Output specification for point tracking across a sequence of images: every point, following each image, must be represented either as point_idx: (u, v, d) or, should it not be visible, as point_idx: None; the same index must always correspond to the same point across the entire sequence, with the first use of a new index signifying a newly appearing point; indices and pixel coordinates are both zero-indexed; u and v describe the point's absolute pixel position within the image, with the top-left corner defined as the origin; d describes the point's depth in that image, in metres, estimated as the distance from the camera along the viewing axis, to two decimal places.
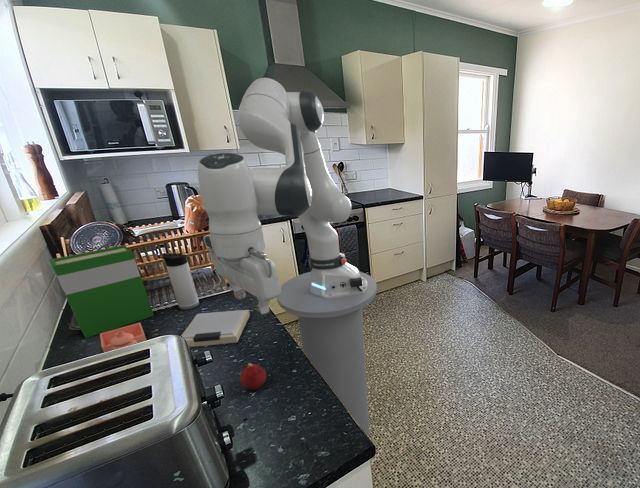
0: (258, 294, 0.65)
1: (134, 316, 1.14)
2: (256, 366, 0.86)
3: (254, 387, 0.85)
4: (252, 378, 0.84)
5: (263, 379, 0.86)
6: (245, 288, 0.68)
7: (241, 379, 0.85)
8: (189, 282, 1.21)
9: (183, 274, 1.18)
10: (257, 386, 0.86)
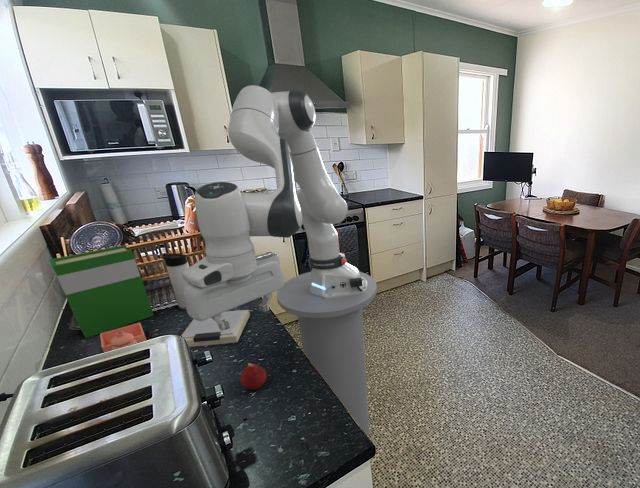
0: (277, 286, 0.81)
1: (134, 316, 1.14)
2: (256, 366, 0.86)
3: (254, 387, 0.85)
4: (252, 378, 0.84)
5: (263, 379, 0.86)
6: (258, 295, 0.77)
7: (241, 379, 0.85)
8: None
9: None
10: (257, 386, 0.86)
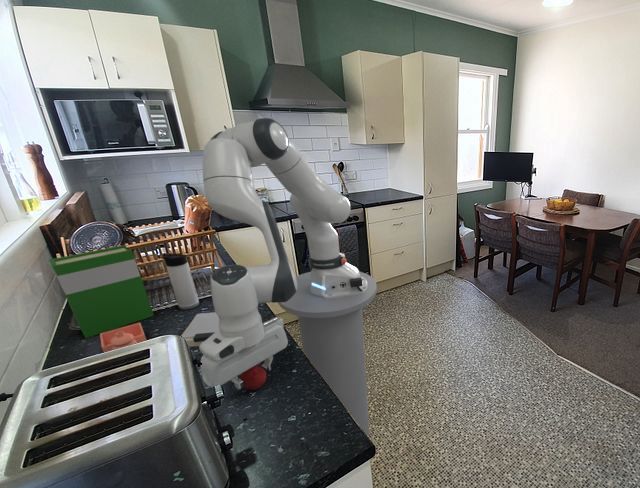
0: (281, 346, 0.90)
1: (134, 316, 1.14)
2: (256, 366, 0.86)
3: (254, 387, 0.85)
4: (252, 378, 0.84)
5: (263, 379, 0.86)
6: (264, 357, 0.86)
7: (241, 379, 0.85)
8: (189, 282, 1.21)
9: (183, 274, 1.18)
10: (257, 386, 0.86)
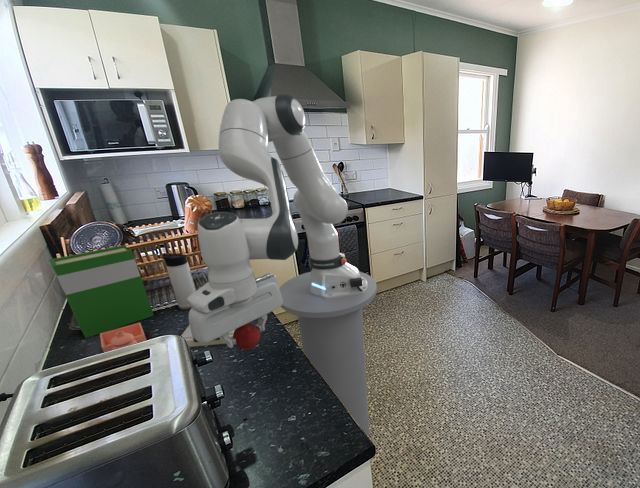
0: (276, 305, 0.85)
1: (134, 316, 1.14)
2: (249, 324, 0.81)
3: (247, 346, 0.81)
4: (245, 336, 0.80)
5: (257, 338, 0.82)
6: (258, 315, 0.81)
7: None
8: (189, 282, 1.21)
9: (183, 274, 1.18)
10: (250, 345, 0.81)
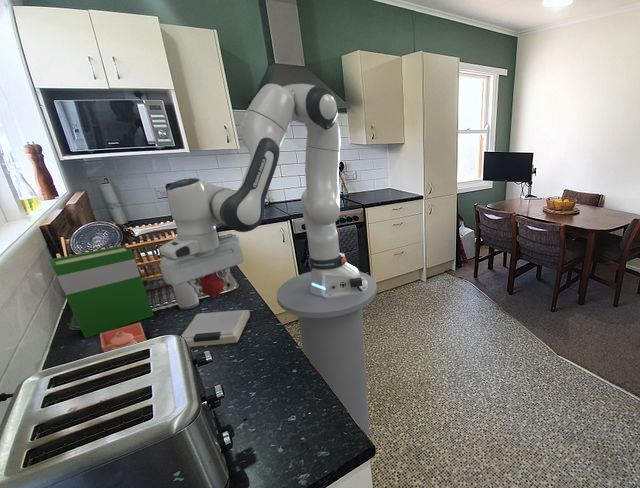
0: (237, 261, 1.01)
1: (134, 316, 1.14)
2: (214, 275, 0.97)
3: (212, 293, 0.96)
4: (209, 283, 0.95)
5: (220, 287, 0.98)
6: (221, 267, 0.97)
7: (200, 285, 0.96)
8: None
9: None
10: (215, 292, 0.97)
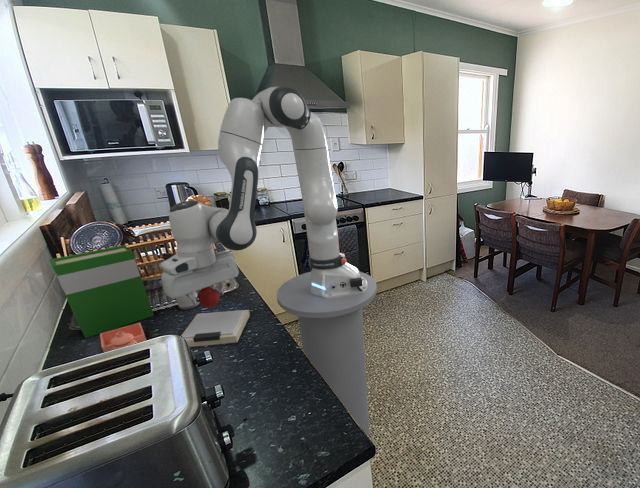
0: (233, 274, 1.10)
1: (134, 316, 1.14)
2: (210, 288, 1.06)
3: (208, 304, 1.05)
4: (206, 296, 1.04)
5: (216, 299, 1.06)
6: (217, 281, 1.06)
7: (197, 297, 1.04)
8: None
9: None
10: (211, 304, 1.05)
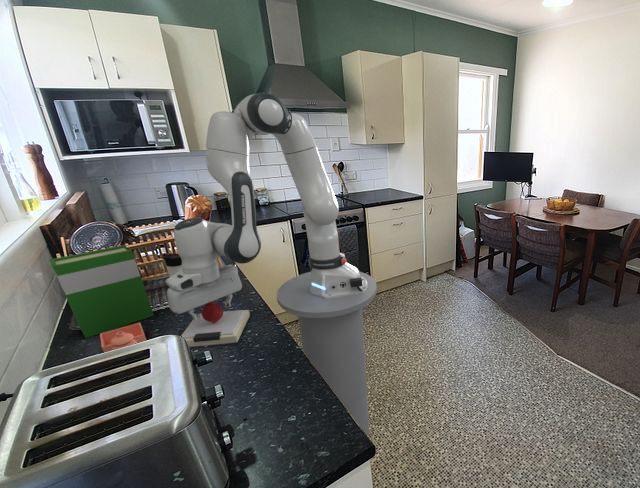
0: (236, 288, 1.12)
1: (134, 316, 1.14)
2: (214, 303, 1.08)
3: (212, 319, 1.07)
4: (210, 311, 1.06)
5: (220, 314, 1.08)
6: (221, 295, 1.08)
7: (202, 313, 1.07)
8: None
9: None
10: (215, 319, 1.07)
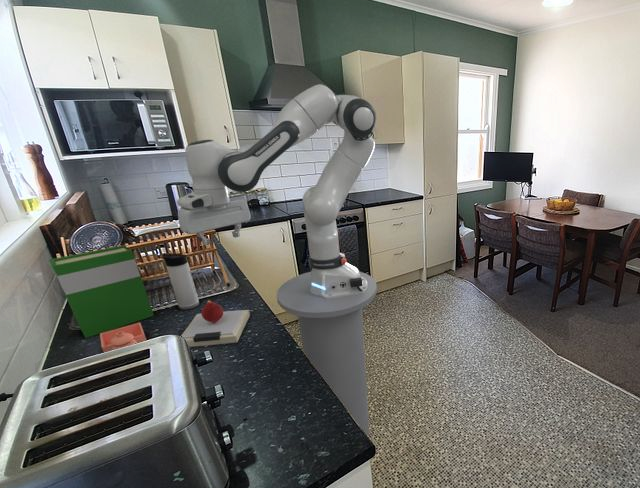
0: (245, 218, 1.13)
1: (134, 316, 1.14)
2: (214, 303, 1.08)
3: (212, 319, 1.07)
4: (210, 311, 1.06)
5: (220, 314, 1.08)
6: (230, 222, 1.09)
7: (202, 313, 1.07)
8: (189, 282, 1.21)
9: (183, 274, 1.18)
10: (215, 319, 1.07)
